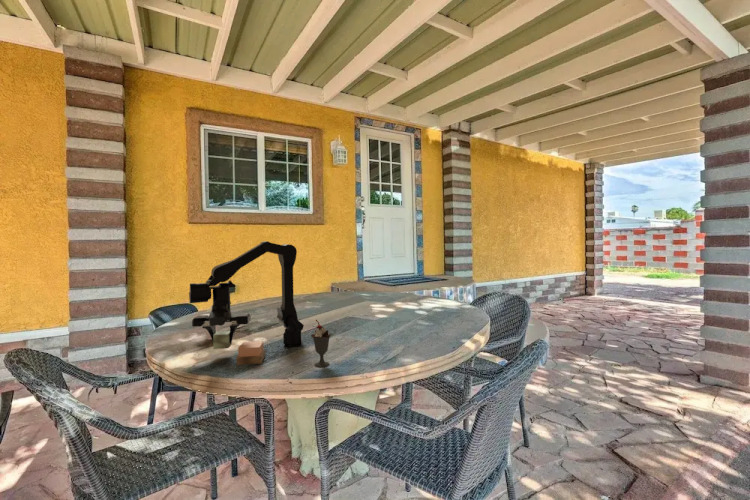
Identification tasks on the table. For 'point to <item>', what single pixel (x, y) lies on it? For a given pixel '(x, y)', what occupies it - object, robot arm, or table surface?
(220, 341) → the cube
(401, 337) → the table surface
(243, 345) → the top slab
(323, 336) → the sundae
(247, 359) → the bottom slab
